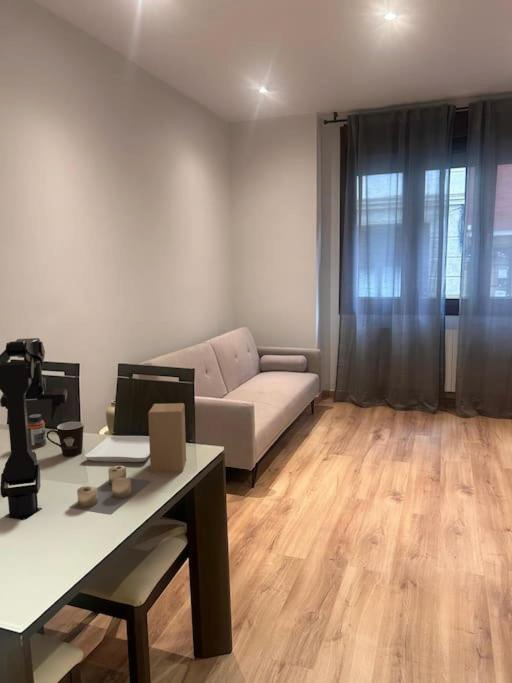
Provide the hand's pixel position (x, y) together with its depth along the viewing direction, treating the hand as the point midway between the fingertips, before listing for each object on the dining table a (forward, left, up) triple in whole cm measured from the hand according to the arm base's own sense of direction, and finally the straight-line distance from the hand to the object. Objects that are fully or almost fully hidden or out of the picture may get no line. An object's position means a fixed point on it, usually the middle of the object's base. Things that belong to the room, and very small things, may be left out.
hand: (37, 420), depth 156 cm
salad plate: (+17, -21, -16) cm, 31 cm away
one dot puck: (-19, -32, -14) cm, 40 cm away
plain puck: (-12, -38, -14) cm, 43 cm away
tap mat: (-12, -35, -15) cm, 40 cm away
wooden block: (+10, -41, -15) cm, 45 cm away
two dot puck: (-5, -32, -14) cm, 36 cm away
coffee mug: (+12, -1, -15) cm, 20 cm away
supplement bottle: (+15, +15, -15) cm, 26 cm away
